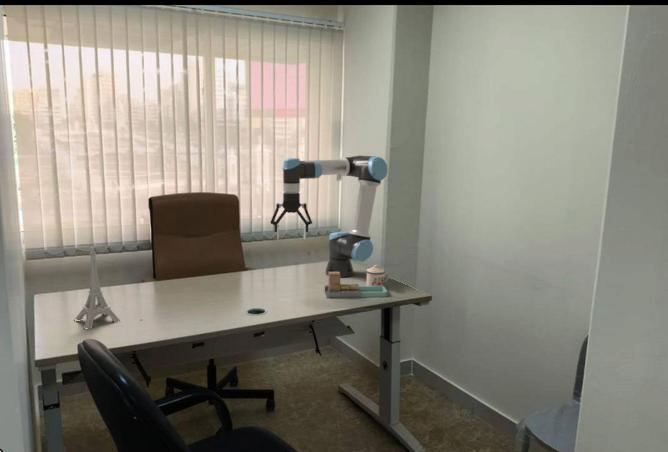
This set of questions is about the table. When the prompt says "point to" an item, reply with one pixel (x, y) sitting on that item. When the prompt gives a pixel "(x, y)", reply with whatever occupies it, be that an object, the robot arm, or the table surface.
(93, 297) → the eiffel tower
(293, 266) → the table surface
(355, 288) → the yellow cube
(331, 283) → the block
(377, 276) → the teacup with lid
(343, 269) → the robot arm
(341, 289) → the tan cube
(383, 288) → the tray
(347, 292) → the slot board
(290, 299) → the table surface
